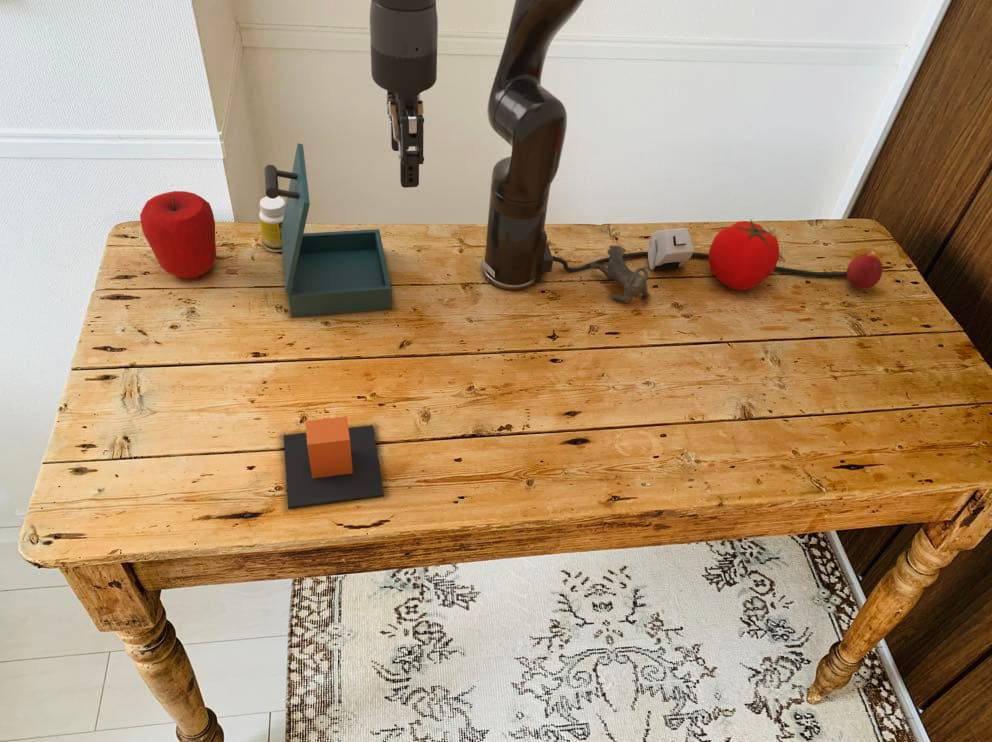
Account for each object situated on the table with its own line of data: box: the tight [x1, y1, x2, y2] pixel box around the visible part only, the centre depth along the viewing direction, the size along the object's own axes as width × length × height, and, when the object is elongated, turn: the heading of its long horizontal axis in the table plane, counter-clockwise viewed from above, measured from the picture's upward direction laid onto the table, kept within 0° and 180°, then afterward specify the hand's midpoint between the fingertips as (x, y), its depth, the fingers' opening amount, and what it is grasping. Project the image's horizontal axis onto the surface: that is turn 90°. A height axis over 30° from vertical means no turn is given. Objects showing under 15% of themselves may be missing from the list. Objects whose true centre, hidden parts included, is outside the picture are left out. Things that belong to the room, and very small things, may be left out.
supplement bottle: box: [258, 196, 286, 253], centre depth 134 cm, size 5×5×8 cm
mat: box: [283, 424, 385, 509], centre depth 107 cm, size 12×12×1 cm
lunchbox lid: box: [263, 142, 311, 295], centre depth 121 cm, size 16×16×5 cm
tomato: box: [708, 218, 780, 291], centre depth 140 cm, size 12×12×11 cm
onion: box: [846, 250, 884, 290], centre depth 143 cm, size 6×6×8 cm
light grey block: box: [647, 227, 695, 271], centre depth 141 cm, size 6×7×10 cm
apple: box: [139, 190, 217, 280], centre depth 126 cm, size 10×10×14 cm
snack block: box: [305, 415, 353, 478], centre depth 104 cm, size 5×4×7 cm
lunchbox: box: [287, 228, 393, 318], centre depth 131 cm, size 16×16×4 cm
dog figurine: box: [591, 244, 650, 304], centre depth 136 cm, size 12×6×7 cm, turn 29°
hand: (404, 167), depth 103 cm, fingers open, 8 cm apart
